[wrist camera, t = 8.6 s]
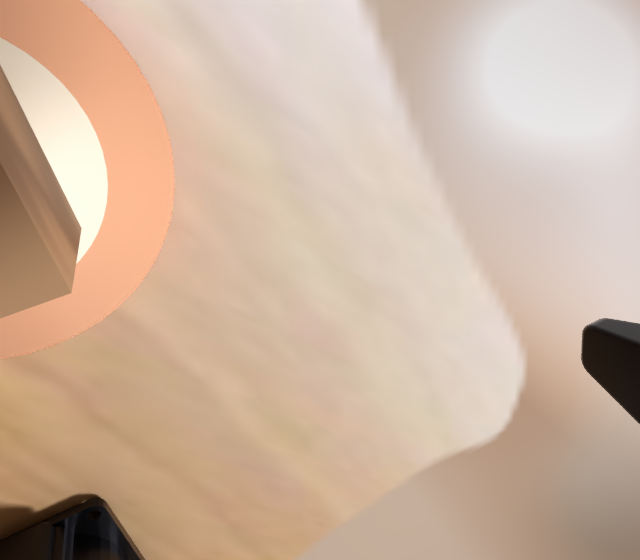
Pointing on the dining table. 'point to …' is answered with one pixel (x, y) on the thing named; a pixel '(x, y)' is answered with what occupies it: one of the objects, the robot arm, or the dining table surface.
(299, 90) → the dining table surface
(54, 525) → the robot arm
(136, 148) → the terracotta dish
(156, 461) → the dining table surface
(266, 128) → the dining table surface
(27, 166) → the walnut block
